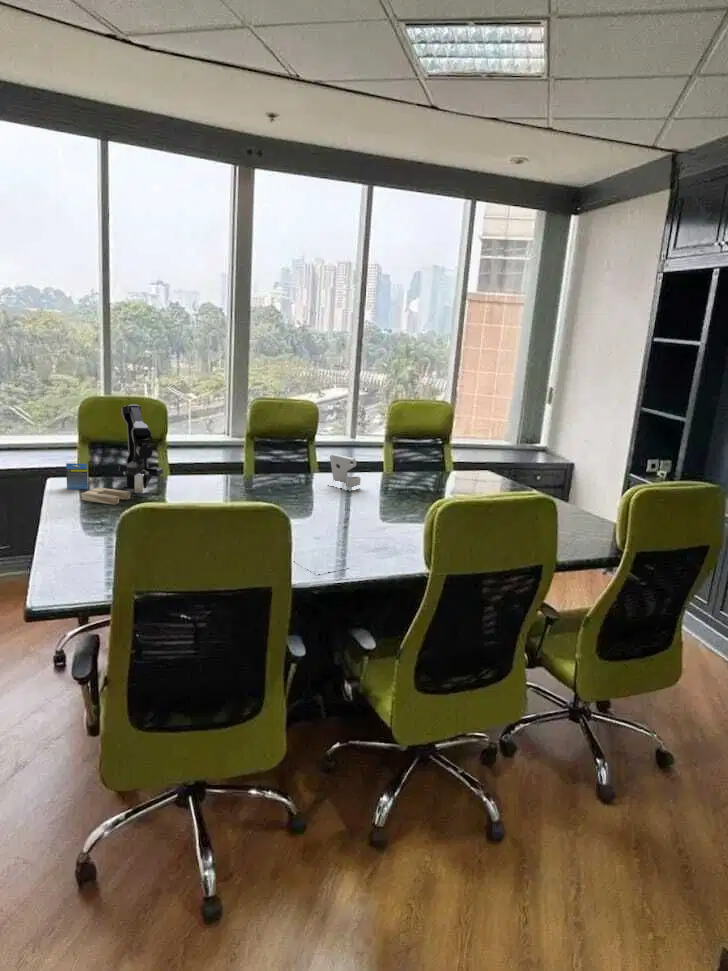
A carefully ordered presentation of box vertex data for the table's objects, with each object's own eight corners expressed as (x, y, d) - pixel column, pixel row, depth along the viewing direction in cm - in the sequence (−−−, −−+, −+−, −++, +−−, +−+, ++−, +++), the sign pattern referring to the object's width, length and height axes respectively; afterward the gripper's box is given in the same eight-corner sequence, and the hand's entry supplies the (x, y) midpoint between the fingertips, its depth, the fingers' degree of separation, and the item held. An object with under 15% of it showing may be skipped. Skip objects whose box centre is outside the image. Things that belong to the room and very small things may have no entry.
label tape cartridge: (88, 487, 283) (88, 461, 280) (87, 489, 280) (87, 463, 277) (67, 487, 280) (67, 461, 277) (66, 489, 277) (65, 463, 274)
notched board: (98, 493, 274) (97, 487, 273) (130, 498, 272) (130, 491, 271) (81, 500, 263) (81, 493, 262) (115, 504, 260) (115, 498, 259)
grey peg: (139, 490, 277) (139, 473, 275) (147, 491, 276) (147, 474, 274) (134, 492, 273) (134, 475, 271) (142, 493, 272) (142, 476, 270)
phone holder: (361, 489, 326) (364, 456, 322) (351, 492, 318) (354, 458, 314) (336, 482, 335) (338, 451, 331) (325, 485, 327) (327, 453, 323)
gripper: (111, 454, 264) (112, 489, 268) (151, 459, 261) (150, 494, 265) (125, 450, 275) (126, 483, 278) (163, 455, 272) (163, 488, 276)
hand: (141, 487), depth 274 cm, fingers closed on grey peg, 4 cm apart
